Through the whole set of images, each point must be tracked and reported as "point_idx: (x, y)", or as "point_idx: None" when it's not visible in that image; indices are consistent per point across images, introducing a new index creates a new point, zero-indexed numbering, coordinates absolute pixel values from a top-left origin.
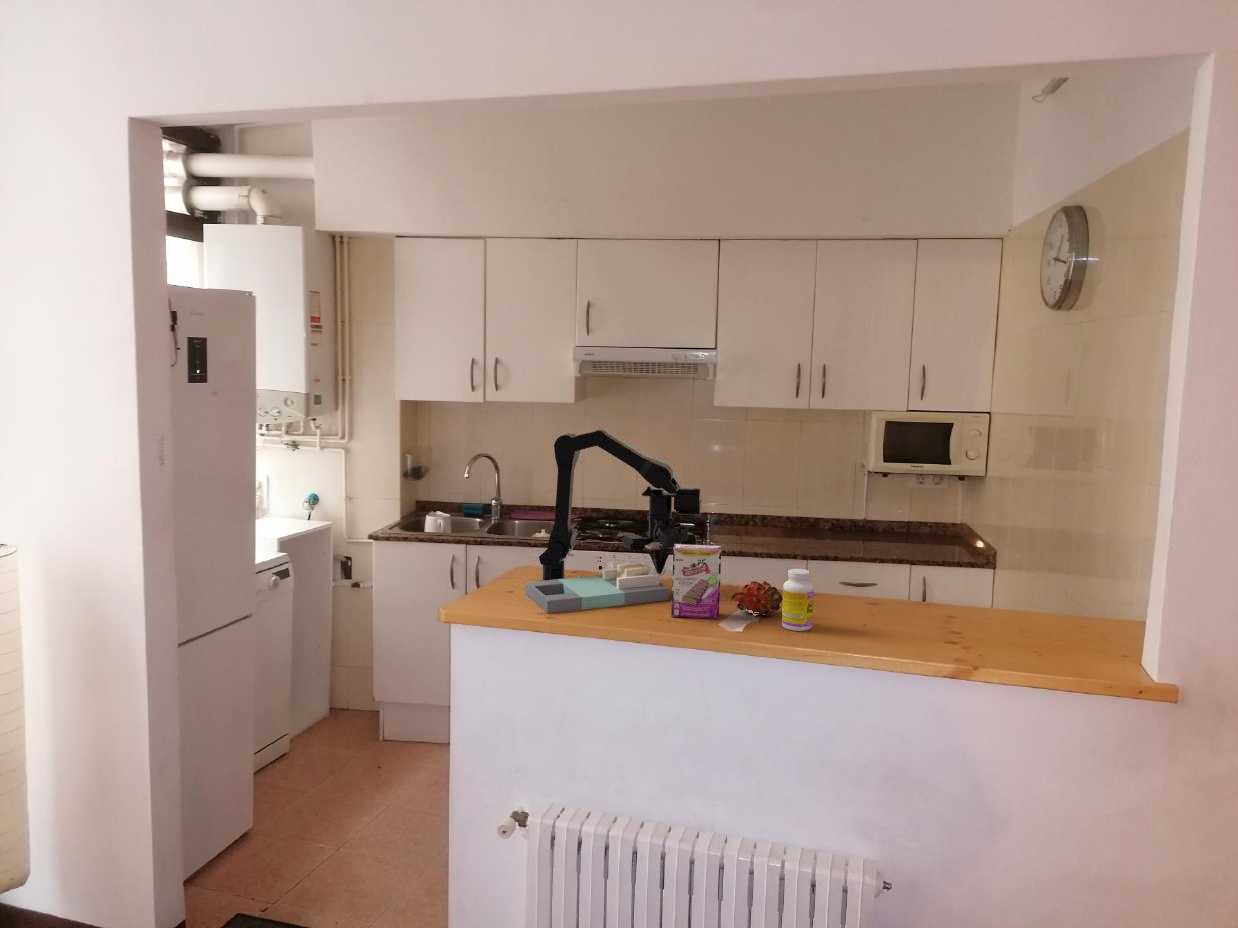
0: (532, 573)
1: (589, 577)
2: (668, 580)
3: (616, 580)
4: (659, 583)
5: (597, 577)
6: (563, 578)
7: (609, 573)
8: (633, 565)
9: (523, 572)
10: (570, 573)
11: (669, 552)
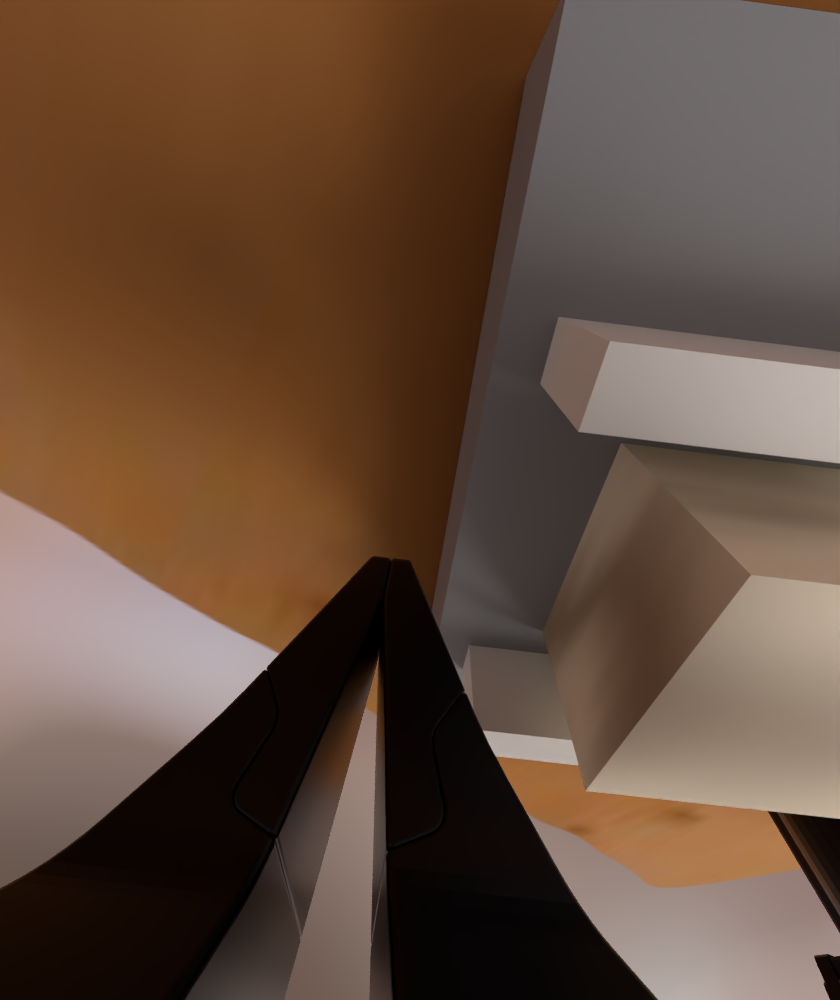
0: (718, 861)
1: None
2: (235, 624)
3: None
4: (506, 377)
5: None
6: None
7: None
8: (772, 745)
9: (731, 873)
10: (602, 827)
11: (12, 932)
